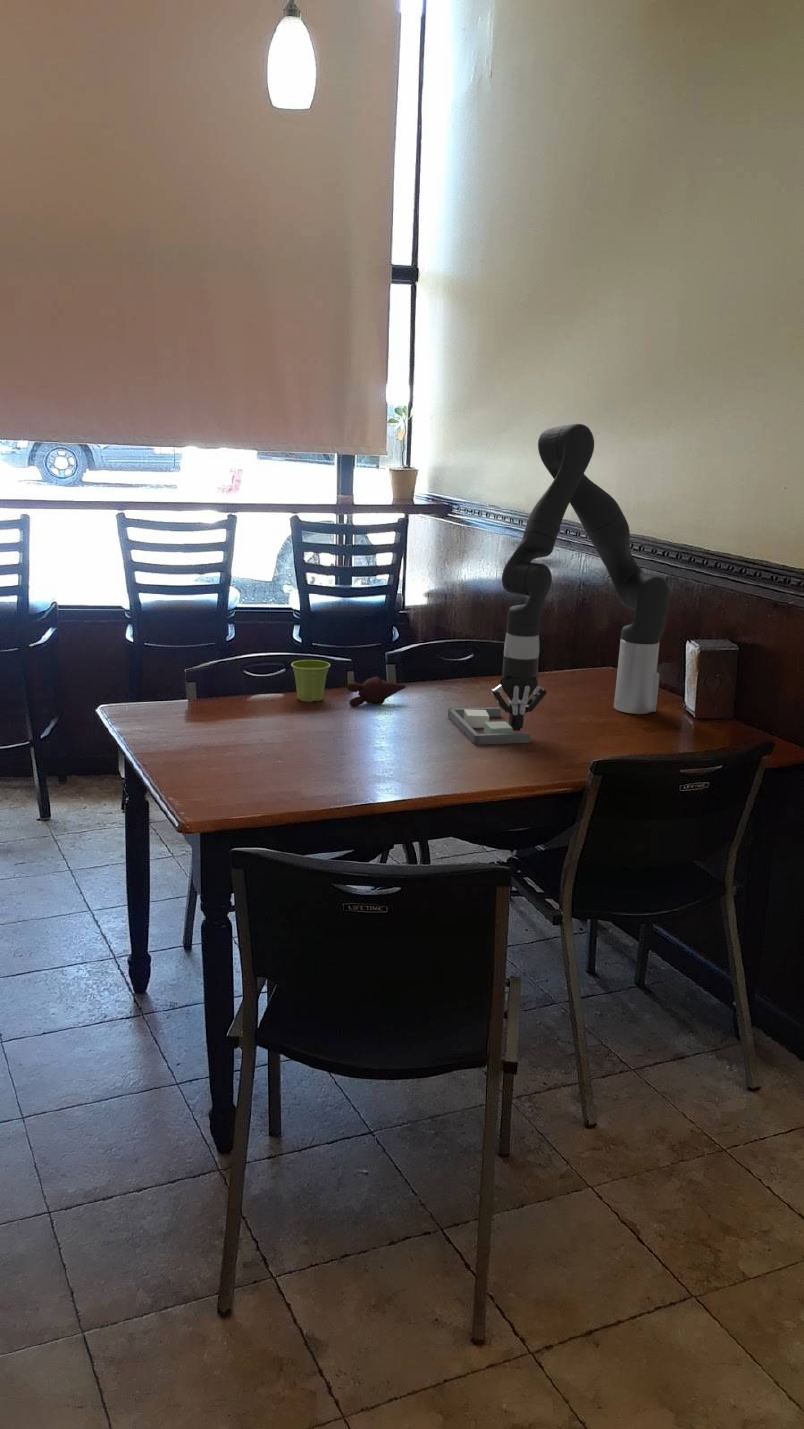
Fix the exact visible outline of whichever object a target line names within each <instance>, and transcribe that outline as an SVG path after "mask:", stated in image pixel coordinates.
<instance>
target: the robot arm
mask: <svg viewBox="0 0 804 1429" xmlns="http://www.w3.org/2000/svg"><path fill="white" fill-rule="evenodd" d="M537 440H538V442H537V449H538V455H539V457H540V460H541V462H542V464H543V465H544V467H545V469H546V470H547V471H548V473H549V474H550V475H551V477H552V478H553V480H552V483H551V484H550V485H549V486H548V488H547V489H546V491H545V492H544V493H543V494H542V496H541V497H539V500H538V501H537V502H536V504H535V505H534V507H533V508H532V510H531V512H530V514H529V517H528V519H527V521H526V522H527V523H526V526H525V527H524V528H525V529H524V532H523V535H522V537H521V540H520V542H519V544H517V546H516V548H515V550H514V552H513V553H512V555H511V556H510V558H509V559H508V561H507V562H506V564H505V566H504V567H503V570H502V575H501V584H502V587H503V589H504V590H505V591H506V592H507V593H508V594H509V593H510V594H515V595H520V596H529V599H528V601H527V603H525V604H516V605H513V606H510V607H509V609H508V611H507V619H506V620H507V621H506V622H507V623H506V624H507V625H506V634H505V639H504V644H503V645H504V649H503V662H502V676H501V679H500V680H499V684H498V686H496V687H494V688H490V690H489V693H490V694H491V695H492V697H493V698H494V700H495V701H496V702H497V704H498V705H499V707H500V708H501V710H503V711H504V712H505V713H507V714H509V716H508V717H509V719H508V724H509V725H510V726H511V727H512V728H513V732H520V731H521V729H523V727H524V716H525V714H527V713H531V712H532V711H534V710H535V708H536V707H537V706H538V705H539V703H540V702H541V701H542V700H543V698H545V696H546V695H547V693H548V692H547V690H546V689H545V688H543V687H541V686H540V685H539V680H538V679H537V678H538V676H537V675H538V666H539V655H540V626H541V624H540V623H541V617H542V612H543V608H544V606H545V603H546V599H547V597H548V594H549V592H550V589H551V587H552V582H553V575H552V572H551V569H550V568H549V567H548V566H547V565H546V564H544V563H537V562H532V561H534V560H536V559H540V558H545V557H546V558H547V557H548V556H550V555H551V554H552V553H553V551H554V548H555V543H556V542H557V541H556V540H557V539H558V538H557V537H558V534H559V530H560V528H561V525H562V521H563V519H564V515H565V514H566V513H567V512H566V511H567V508H568V507H569V505H570V506H571V507H572V509H573V511H574V512H575V514H576V517H578V520H579V521H580V524H581V526H582V527H583V530H584V531H585V533H586V535H587V537H588V538H589V540H590V542H591V543H592V545H593V546H594V548H595V550H596V552H597V554H598V556H599V558H600V559H601V561H602V563H603V565H604V566H605V569H606V571H607V572H608V575H609V577H610V579H611V582H612V584H613V587H614V589H615V592H616V594H617V596H618V598H619V600H620V603H621V604H622V605H623V606H624V607H625V608H628V609H629V610H631V611H635V612H634V619H633V622H632V623H631V624H626V625H624V626H623V627H622V629H621V631H620V643H619V653H618V662H617V672H616V673H617V674H616V682H615V692H614V698H613V699H614V701H613V708H614V709H615V710H616V711H619V712H621V713H627V714H631V715H632V714H634V715H645V714H649V713H653V712H657V711H656V710H657V702H658V695H659V694H658V692H659V684H660V673H659V672H657V671H658V669H657V668H658V662H659V661H658V660H659V653H660V652H659V651H660V643H661V642H660V641H661V636H662V634H663V632H664V630H665V627H666V621H667V615H668V610H669V603H670V587H669V584H668V582H667V580H665V578H663V577H662V576H658V575H656V574H655V575H654V574H651V573H647V572H644V571H643V570H642V569H641V568H640V566H639V565H638V563H637V562H636V560H635V558H634V556H633V554H632V552H631V550H630V548H631V547H630V540H631V538H630V537H631V535H630V534H631V532H630V526H629V523H628V520H627V519H626V516H625V515H624V513H623V510H622V509H621V507H620V504H618V503H617V501H616V500H615V499H614V497H612V496H611V494H610V493H608V492H607V491H605V489H603V488H601V487H600V486H599V485H597V483H595V482H594V481H592V480H591V479H590V478H588V476H587V475H586V474H585V472H586V470H587V468H588V466H589V464H590V462H591V460H592V457H593V454H594V451H595V437H594V435H593V432H592V431H591V429H590V428H589V427H588V426H587V425H585V424H582V423H572V424H571V423H570V424H565V425H560V426H554V427H550V428H547V429H545V430H544V431H542V432H541V434H540V435H539V437H538V439H537ZM503 692H504V693H505V695H506V696H507V701H508V703H507V702H506V701H505V699H504V698H503V697H502V696H503V695H504V693H503Z"/></svg>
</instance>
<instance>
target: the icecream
mask: <svg viewBox="0 0 804 1429" xmlns="http://www.w3.org/2000/svg"><path fill="white" fill-rule="evenodd" d="M406 687H407V685H406V684H403V683H397V682H391V681H387V680H382V679H381V678H380V677H378V675H376V676H375V677H371V678H367V679H366V680H365V681H364V682H363V683H357V682H356V681H353V682H348V683H347V685H346V689H347V690H348V691H349V692H353V693H357V694H358V696H355V697H353V698H351V699H350V700H349V704H348V705H349V706H351V707H359V706H361V705H363V704H364V703H367V704H370V705H375V704H376V705H377V704H378V705H381V704H382V705H383V704H384V703H385V701H386V700H387V699H388V698H389V697H392V696H393V695H395V694H396V693H398V692H400V691H402V690H404V689H405V688H406Z"/></svg>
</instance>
